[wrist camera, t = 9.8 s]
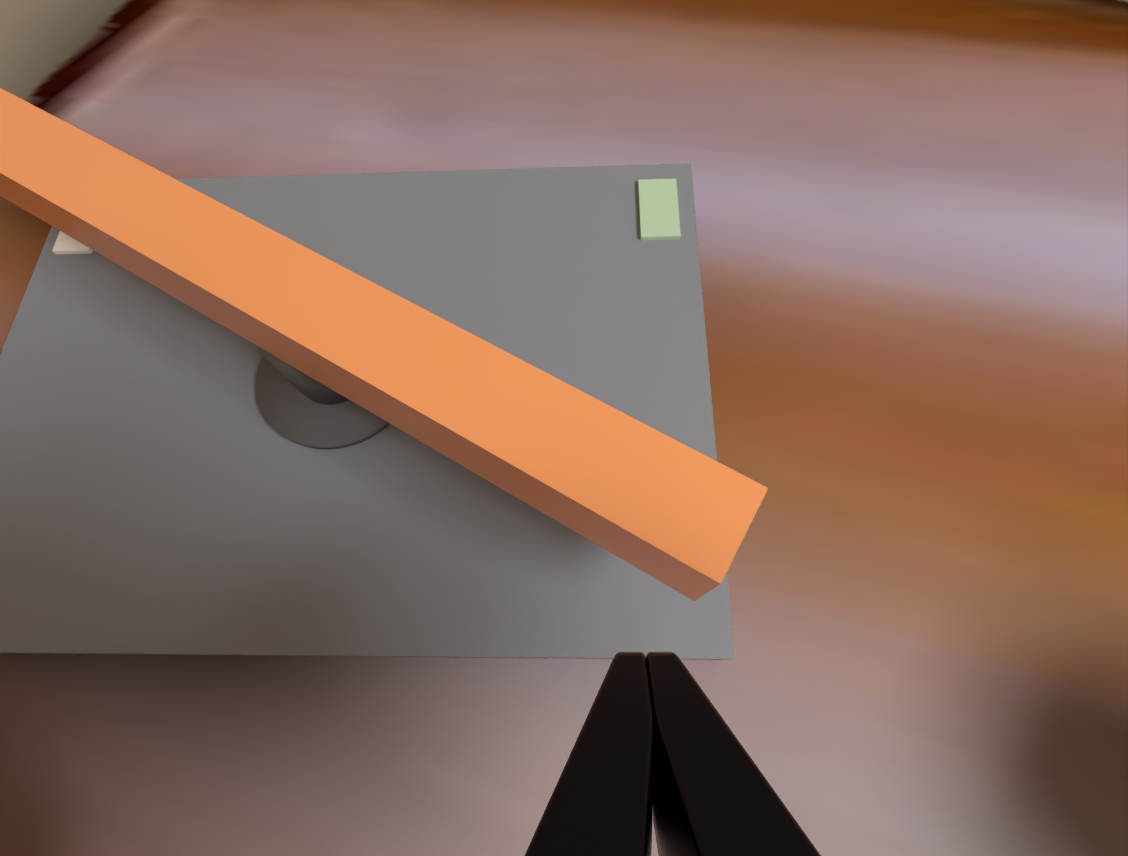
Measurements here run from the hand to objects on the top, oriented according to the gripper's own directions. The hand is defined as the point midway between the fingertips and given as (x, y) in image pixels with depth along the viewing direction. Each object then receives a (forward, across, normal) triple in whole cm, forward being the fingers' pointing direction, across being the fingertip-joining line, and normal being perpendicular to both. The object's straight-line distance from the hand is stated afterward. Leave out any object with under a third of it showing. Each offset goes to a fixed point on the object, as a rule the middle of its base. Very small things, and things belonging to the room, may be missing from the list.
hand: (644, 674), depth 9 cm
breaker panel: (+17, +10, +2) cm, 20 cm away
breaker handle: (+15, +10, 0) cm, 18 cm away
